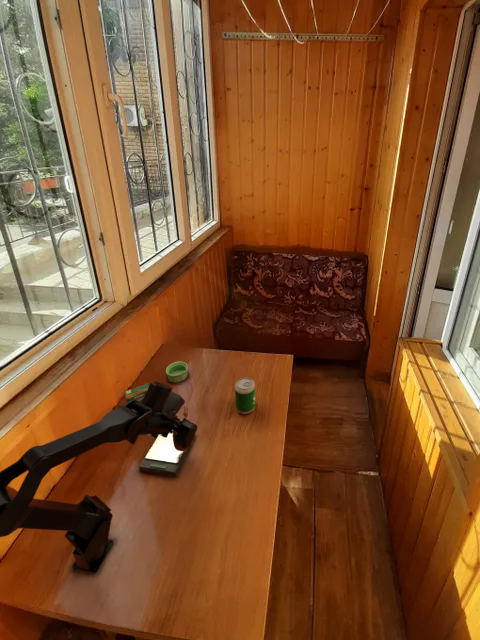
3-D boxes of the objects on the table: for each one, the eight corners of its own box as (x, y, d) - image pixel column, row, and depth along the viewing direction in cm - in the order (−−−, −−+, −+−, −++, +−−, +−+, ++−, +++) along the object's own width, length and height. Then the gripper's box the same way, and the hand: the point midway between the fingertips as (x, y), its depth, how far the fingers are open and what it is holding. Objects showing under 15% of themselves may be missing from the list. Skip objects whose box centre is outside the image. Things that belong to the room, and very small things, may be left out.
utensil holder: (169, 448, 98) (165, 419, 94) (182, 432, 103) (178, 404, 99) (185, 454, 96) (181, 424, 92) (197, 437, 101) (194, 409, 98)
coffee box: (130, 424, 113) (124, 396, 108) (130, 418, 115) (124, 390, 110) (154, 414, 117) (149, 387, 112) (153, 409, 119) (148, 382, 114)
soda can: (252, 417, 116) (251, 392, 112) (233, 413, 117) (231, 388, 113) (258, 401, 123) (257, 377, 119) (240, 398, 124) (238, 374, 120)
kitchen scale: (176, 476, 95) (175, 471, 94) (139, 471, 97) (138, 465, 96) (195, 436, 108) (194, 431, 107) (163, 432, 110) (162, 426, 109)
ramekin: (167, 371, 139) (166, 363, 137) (188, 367, 141) (187, 359, 140) (166, 385, 131) (165, 377, 129) (188, 381, 133) (187, 373, 132)
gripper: (189, 406, 84) (218, 409, 97) (144, 381, 93) (176, 387, 106) (169, 450, 80) (203, 448, 93) (123, 420, 89) (160, 422, 102)
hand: (185, 424), depth 99 cm, fingers closed on utensil holder, 5 cm apart
